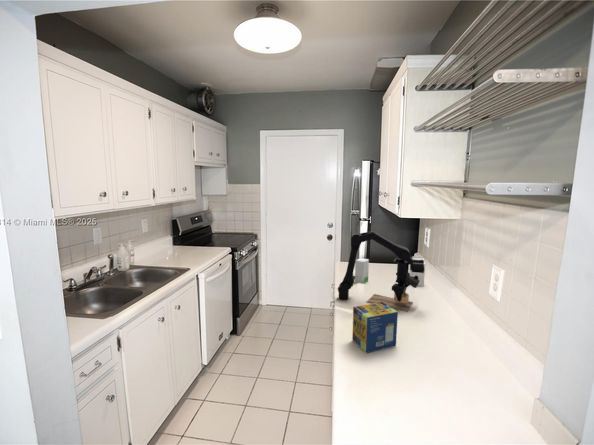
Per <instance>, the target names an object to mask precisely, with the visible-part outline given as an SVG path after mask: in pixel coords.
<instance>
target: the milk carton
mask: <svg viewBox="0 0 594 445" xmlns="http://www.w3.org/2000/svg"><path fill="white" fill-rule="evenodd" d="M411 257H412V259H415V260H424V273H417V272H412V271H411V270H410V269H409V273H410V276H411V277H412V276H413V277H414V276H418V278H419V281H420V282H419V284H418V286H417V287H425V277H426V276H425V273H426V272H425V271H426V262H425V258H424V256H411Z"/></svg>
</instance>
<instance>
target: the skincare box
mask: <svg viewBox="0 0 594 445" xmlns="http://www.w3.org/2000/svg"><path fill="white" fill-rule="evenodd" d="M369 263H370V259H369V258H356V262H355V267H354V271H355V273H354V276H356V277H355V280H354V284H363V285H365V284H367V283H369V266H370V265H369Z"/></svg>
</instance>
